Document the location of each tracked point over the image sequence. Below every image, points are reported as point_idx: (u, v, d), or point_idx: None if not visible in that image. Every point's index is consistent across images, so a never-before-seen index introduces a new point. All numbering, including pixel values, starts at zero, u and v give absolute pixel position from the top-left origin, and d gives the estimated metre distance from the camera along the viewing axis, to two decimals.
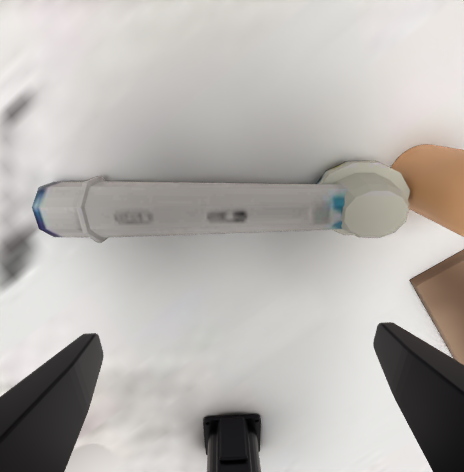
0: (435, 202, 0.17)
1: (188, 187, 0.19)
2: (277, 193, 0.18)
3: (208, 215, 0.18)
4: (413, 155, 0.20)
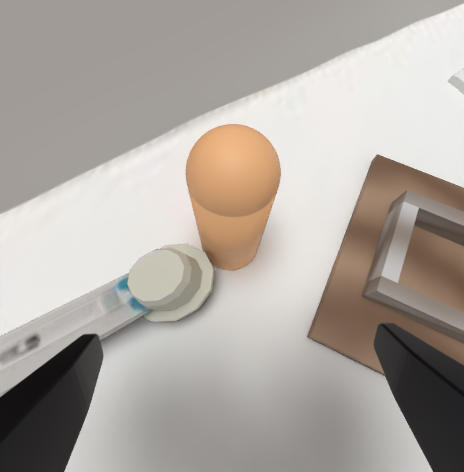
0: (202, 235, 0.19)
1: None
2: (69, 304, 0.18)
3: None
4: None
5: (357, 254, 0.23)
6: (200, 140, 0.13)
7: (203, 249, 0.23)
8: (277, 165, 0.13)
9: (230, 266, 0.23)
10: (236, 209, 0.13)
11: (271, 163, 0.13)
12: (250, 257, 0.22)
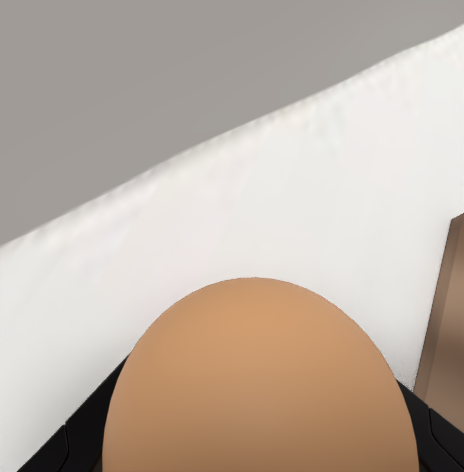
0: None
1: None
2: None
3: None
4: None
5: (453, 399, 0.14)
6: (142, 380, 0.04)
7: None
8: None
9: None
10: None
11: None
12: None
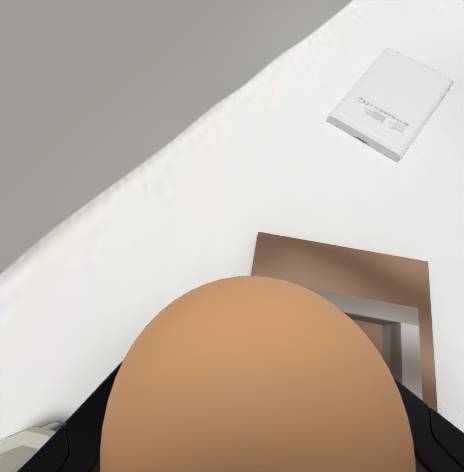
0: None
1: None
2: None
3: None
4: None
5: None
6: (139, 377, 0.04)
7: None
8: (414, 456, 0.04)
9: None
10: None
11: None
12: None
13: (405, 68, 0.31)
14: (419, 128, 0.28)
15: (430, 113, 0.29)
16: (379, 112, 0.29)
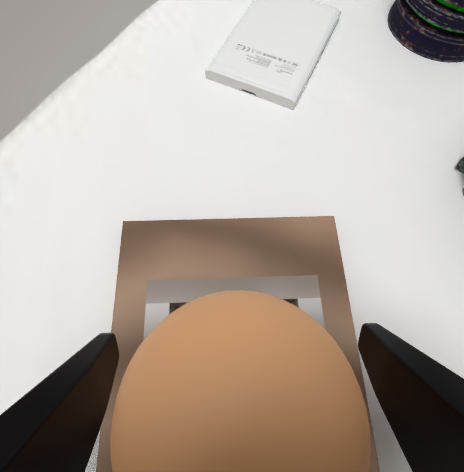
0: None
1: None
2: None
3: None
4: None
5: None
6: (141, 378, 0.04)
7: None
8: (369, 445, 0.05)
9: None
10: None
11: None
12: None
13: (285, 4, 0.27)
14: (310, 66, 0.24)
15: (320, 48, 0.25)
16: (263, 56, 0.25)
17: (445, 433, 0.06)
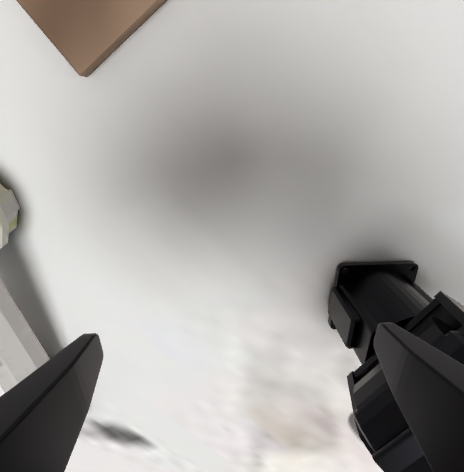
0: None
1: None
2: None
3: None
4: None
5: None
6: None
7: None
8: None
9: None
10: None
11: None
12: None
13: None
14: None
15: None
16: None
17: None
